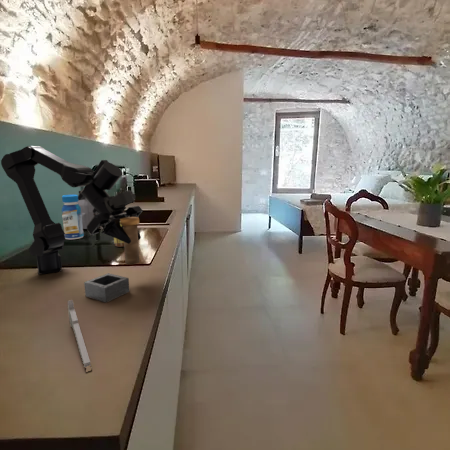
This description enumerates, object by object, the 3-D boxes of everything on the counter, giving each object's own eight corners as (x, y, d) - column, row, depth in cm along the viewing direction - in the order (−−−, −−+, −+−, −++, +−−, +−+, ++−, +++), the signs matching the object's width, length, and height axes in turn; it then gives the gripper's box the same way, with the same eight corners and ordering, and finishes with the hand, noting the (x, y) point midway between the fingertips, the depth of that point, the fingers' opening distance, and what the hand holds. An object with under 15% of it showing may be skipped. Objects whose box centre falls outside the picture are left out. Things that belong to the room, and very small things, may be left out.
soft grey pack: (91, 225, 181) (88, 189, 177) (105, 225, 180) (102, 189, 176) (75, 231, 167) (71, 192, 163) (90, 231, 166) (87, 192, 162)
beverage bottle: (87, 237, 154) (84, 194, 150) (71, 240, 147) (66, 196, 143) (77, 234, 158) (73, 193, 154) (60, 238, 151) (55, 195, 147)
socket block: (106, 302, 83) (104, 287, 82) (85, 296, 87) (84, 282, 86) (129, 291, 90) (128, 277, 89) (109, 286, 94) (108, 273, 93)
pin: (125, 266, 91) (122, 220, 89) (121, 261, 96) (118, 217, 93) (143, 263, 94) (141, 219, 91) (139, 258, 98) (136, 216, 96)
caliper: (69, 324, 73) (66, 298, 71) (74, 323, 73) (71, 297, 72) (85, 374, 56) (82, 341, 54) (92, 372, 56) (89, 339, 55)
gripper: (91, 184, 83) (130, 229, 81) (135, 179, 100) (168, 217, 98) (70, 212, 87) (107, 256, 86) (116, 203, 104) (147, 240, 103)
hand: (135, 240), depth 93 cm, fingers closed on pin, 4 cm apart
